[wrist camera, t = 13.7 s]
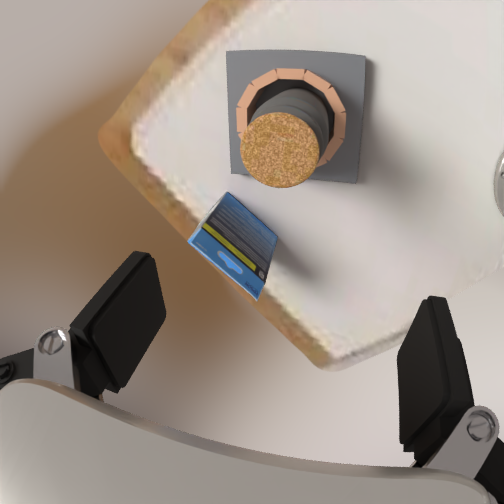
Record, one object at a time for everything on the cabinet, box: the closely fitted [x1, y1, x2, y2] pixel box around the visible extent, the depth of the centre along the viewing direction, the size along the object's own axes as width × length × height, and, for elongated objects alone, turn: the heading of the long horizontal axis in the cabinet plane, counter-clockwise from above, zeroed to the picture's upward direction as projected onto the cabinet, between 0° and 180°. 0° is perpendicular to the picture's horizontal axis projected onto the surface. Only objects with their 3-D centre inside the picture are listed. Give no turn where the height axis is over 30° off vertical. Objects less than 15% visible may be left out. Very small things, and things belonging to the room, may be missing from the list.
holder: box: [226, 50, 365, 184], centre depth 29 cm, size 14×14×6 cm
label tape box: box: [188, 192, 278, 301], centre depth 35 cm, size 9×4×12 cm, turn 49°
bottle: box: [240, 88, 329, 188], centre depth 24 cm, size 6×6×15 cm
